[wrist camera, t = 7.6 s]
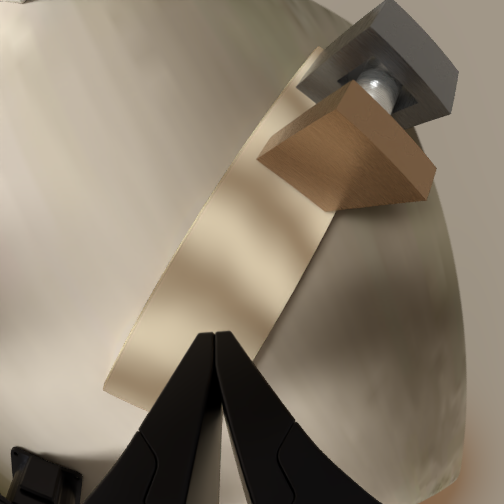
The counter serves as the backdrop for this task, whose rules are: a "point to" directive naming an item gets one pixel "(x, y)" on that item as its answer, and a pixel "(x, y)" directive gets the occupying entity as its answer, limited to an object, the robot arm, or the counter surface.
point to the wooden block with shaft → (352, 148)
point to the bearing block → (388, 64)
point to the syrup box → (15, 0)
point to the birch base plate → (227, 263)
